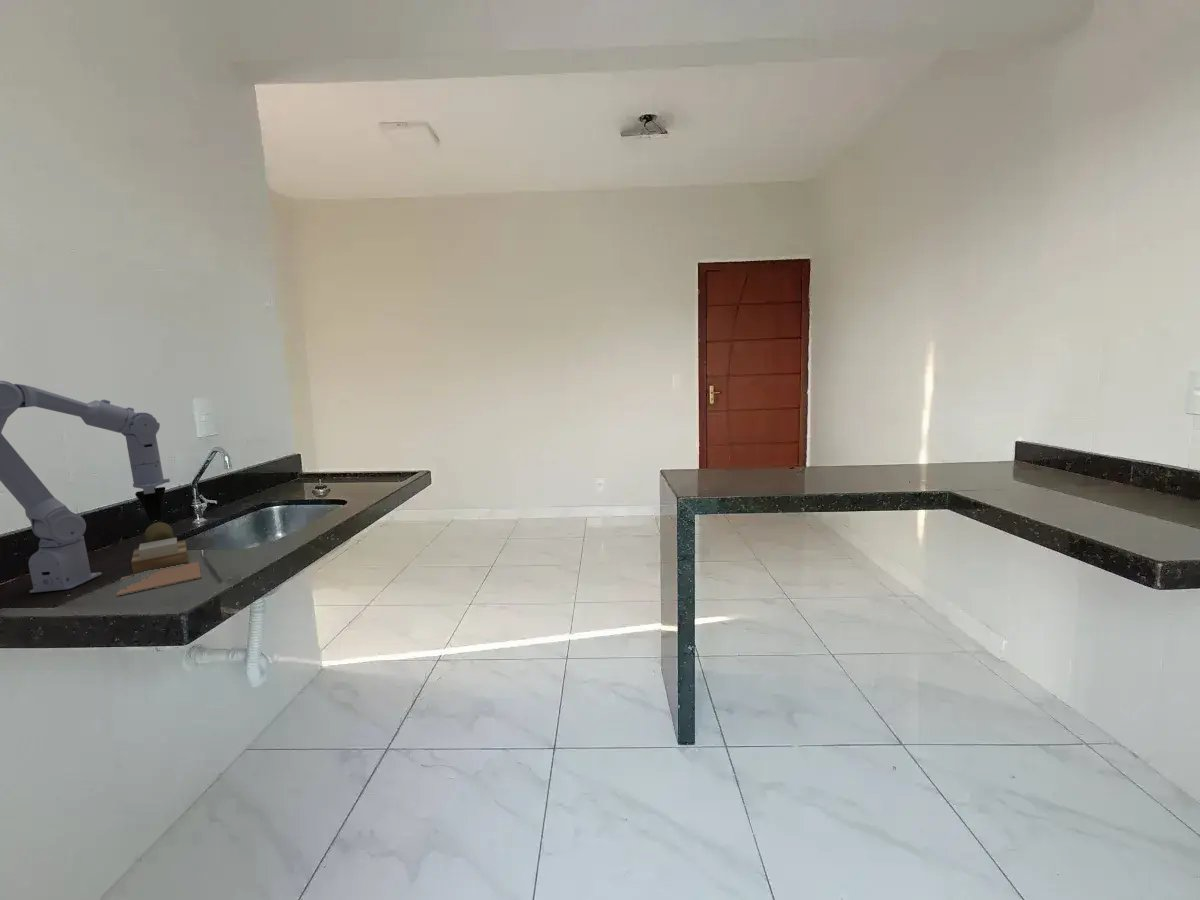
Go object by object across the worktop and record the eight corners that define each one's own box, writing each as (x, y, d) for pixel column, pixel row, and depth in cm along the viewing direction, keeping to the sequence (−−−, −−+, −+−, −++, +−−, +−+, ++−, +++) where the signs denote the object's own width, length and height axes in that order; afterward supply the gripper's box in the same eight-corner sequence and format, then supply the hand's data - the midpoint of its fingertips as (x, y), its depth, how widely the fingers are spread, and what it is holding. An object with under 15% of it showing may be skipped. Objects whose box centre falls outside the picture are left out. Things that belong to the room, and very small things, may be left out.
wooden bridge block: (136, 561, 142) (134, 549, 142) (187, 551, 148) (185, 540, 148) (133, 575, 131) (131, 562, 131) (188, 564, 137) (186, 551, 136)
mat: (121, 579, 129) (121, 577, 129) (199, 563, 137) (198, 561, 137) (116, 596, 118) (116, 594, 118) (201, 578, 126) (201, 576, 126)
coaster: (141, 552, 139) (139, 543, 139) (177, 545, 143) (176, 537, 143) (140, 558, 133) (138, 550, 133) (178, 551, 137) (176, 543, 137)
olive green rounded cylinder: (141, 527, 154) (144, 536, 146) (168, 518, 158) (173, 527, 149) (149, 548, 156) (152, 558, 147) (176, 539, 159) (181, 549, 151)
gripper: (166, 463, 138) (176, 521, 140) (166, 458, 150) (175, 511, 151) (127, 468, 134) (138, 527, 136) (131, 462, 146) (140, 517, 147)
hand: (155, 519), depth 143 cm, fingers closed
